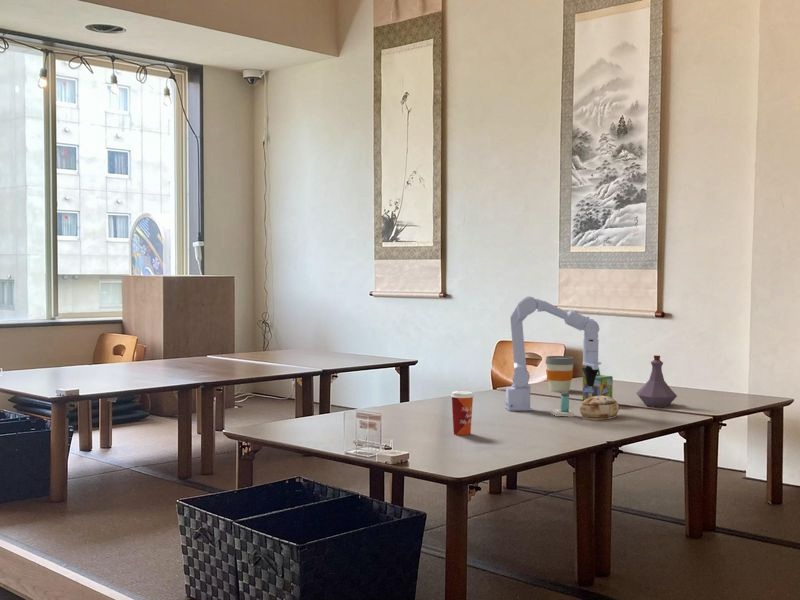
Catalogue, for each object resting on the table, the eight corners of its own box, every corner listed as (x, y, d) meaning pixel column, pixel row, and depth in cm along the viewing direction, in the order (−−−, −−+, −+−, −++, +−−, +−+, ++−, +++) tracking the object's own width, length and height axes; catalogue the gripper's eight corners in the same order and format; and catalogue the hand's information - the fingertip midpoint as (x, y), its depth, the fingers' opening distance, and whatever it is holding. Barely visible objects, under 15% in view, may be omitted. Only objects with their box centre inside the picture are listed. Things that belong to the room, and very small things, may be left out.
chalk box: (601, 406, 365) (602, 369, 365) (581, 404, 372) (582, 367, 371) (613, 404, 372) (613, 367, 372) (593, 401, 378) (593, 366, 378)
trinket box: (620, 415, 345) (620, 394, 345) (614, 421, 331) (615, 400, 331) (584, 413, 350) (584, 392, 350) (577, 419, 336) (577, 398, 336)
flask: (627, 402, 375) (628, 354, 374) (663, 401, 380) (663, 353, 379) (649, 409, 359) (649, 358, 359) (685, 407, 364) (686, 357, 363)
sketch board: (555, 416, 341) (555, 413, 341) (550, 413, 349) (550, 409, 349) (573, 416, 342) (573, 413, 342) (568, 412, 350) (568, 409, 350)
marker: (561, 412, 344) (561, 393, 344) (560, 410, 347) (560, 392, 347) (569, 412, 344) (569, 393, 343) (568, 410, 347) (568, 392, 346)
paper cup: (466, 437, 301) (467, 394, 301) (446, 434, 305) (446, 392, 305) (477, 433, 308) (478, 391, 307) (457, 430, 312) (457, 390, 311)
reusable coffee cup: (579, 390, 411) (579, 357, 410) (563, 393, 402) (563, 359, 401) (555, 387, 419) (555, 355, 419) (539, 390, 410) (539, 357, 410)
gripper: (606, 352, 345) (605, 388, 346) (595, 349, 360) (595, 383, 360) (588, 352, 345) (587, 388, 345) (577, 349, 359) (577, 383, 360)
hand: (590, 386), depth 353 cm, fingers closed
